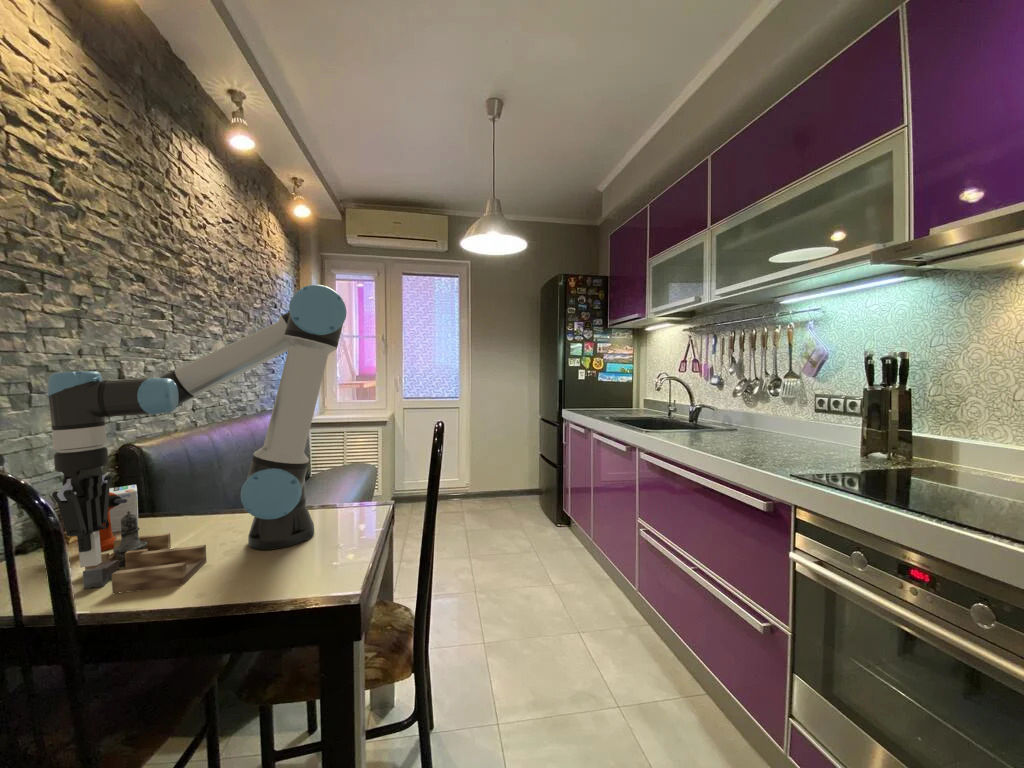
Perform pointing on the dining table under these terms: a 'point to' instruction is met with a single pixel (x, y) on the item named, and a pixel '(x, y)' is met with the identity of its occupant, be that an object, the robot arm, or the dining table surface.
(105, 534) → the toy drill
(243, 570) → the dining table surface
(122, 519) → the chess piece
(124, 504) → the light bulb box
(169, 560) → the rack
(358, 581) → the dining table surface
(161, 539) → the socket frame
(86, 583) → the bar
